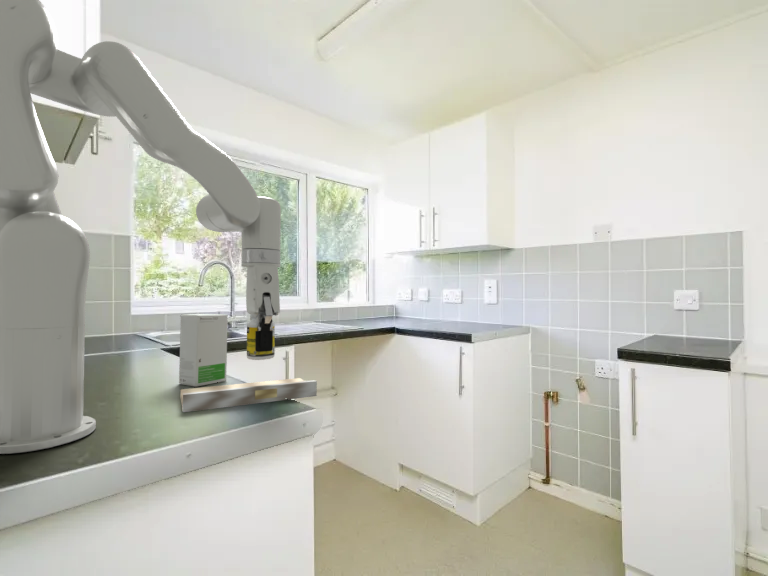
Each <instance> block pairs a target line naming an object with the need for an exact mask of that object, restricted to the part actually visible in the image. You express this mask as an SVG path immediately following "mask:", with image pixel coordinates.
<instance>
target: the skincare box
mask: <svg viewBox="0 0 768 576" xmlns="http://www.w3.org/2000/svg"><path fill="white" fill-rule="evenodd" d="M179 317H180V330H179V331H180V334H179V336H180V337H179V371H178V383H179V385H183V386H189V387H193V388H194V387H195V388H198V387H200V386H205V385H212V384H216V383H217V382H218V383H223V382H226V381H227V366H228V365H227V364H228V363H227V361H228V359H227V358H228V354H227V353H228V317H229V316H228V314H220V313H218V314H214V313H200V314H199V313H196V314H195V313H194V314H193V313H187V314H186V313H185V314H180V316H179ZM218 383H217V384H218Z"/></svg>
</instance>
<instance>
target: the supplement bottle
mask: <svg viewBox="0 0 768 576" xmlns="http://www.w3.org/2000/svg"><path fill="white" fill-rule="evenodd" d="M259 310H260V309H259ZM260 314H264V312H260V313H259V315H260ZM250 316H251V317H252V320H251V321H250V320H249V321H248V322H247V323H246V358H247V359H248V360H252V361H265V360H266V361H267V360H271V359H274V357H275V354H276V353H275V351H276V349H275V346H276V345H275V344H276V343H275V336H276V335H275V334H276V331H275V328H276V326H275V322H274V320H272V325H273V350H272V351H263V352H257V351H256V350H255V331H257V318H256V316H254V315H252V314H249V317H250Z"/></svg>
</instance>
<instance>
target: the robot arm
mask: <svg viewBox="0 0 768 576" xmlns="http://www.w3.org/2000/svg"><path fill="white" fill-rule="evenodd" d="M58 42H59V37H58V32H57V28H56V26H55V22H54V19H53V18H52V16H51V14H50V11H49V10H48V9H47V8H46V7H45V5H44V4H43V2H42V1H41V0H0V455H5V454H6V455H8V454H9V455H10V454H20V453H27V452H28V453H29V452H34V451H40V450H44V449H50V448H54V447H57V446H61V445H66V444H69V443H72V442H74V441H78V440H80V439H82V438H84V437H87V436H89V435H90V434H91V433H93V432H94V431H95V429H96V428H97V421H96V418H93V417H91V416H88V415H84V390H85V388H84V387H85V386H84V385H85V380H84V378H85V342H86V341H85V336H86V330H85V329H86V324H85V323H86V296H87V287H88V286H87V285H88V276H89V271H90V270H89V268H90V260H91V257H90V256H91V251H90V245H89V240H88V238H87V237H86V234H85V232H84V231H83V229H81V227H80V226H79V225H78V224H77V223H76V222H74V221H73V220H72V219H70V218H69V217H66V216H64V215H62V212H61V209H60V206H59V204H58V199H57V198H56V194H55V190H56V187H57V186H58V182H59V171H58V167H57V164H56V162H55V159H54V158H53V155H52V152H51V151H50V147H49V145H48V142H47V140H46V136H45V134H44V131H43V129H42V126H41V123H40V120H39V118H38V116H37V112H36V108H35V104H34V102H33V99H32V95H35V96H38V97H40V98H44V99H46V100H49V101H52V102H55V103H58V104H62V105H64V106H67V107H71V108H74V109H76V110H80V111H82V112H86V113H90V114H94V115H98V116H103V117H109V118H110V117H111V118H113V117H116V118H117V119H118V120H119V122H120V123H121V124H122V125H123V126H124V127H125V129H126V130H127V131H128V132H129V133H130V135H131V136H132V137H133V138H134V140H135V141H136V142H137V144H138V145H140V146H141V148H142V149H143V151H144V152H145V153H146V154H147V155H148V156H149V157H151V158H153V159H155V160H157V161H158V162H159V161H160V162H162V163H166V164H168V165H171V166H174V167H177V168H178V169H180V170H182V171H183V172H185V173H186V174H188V175H189V176H191V177H192V178H193V179H194V180H195V181H197V182H198V183H199V184H200V185H201V187H203V188H204V190H205V192H207V193H208V194H207V195H205V196H203V197H202V198H201V199H200V200H199V201H198V203H197V205H196V208H195V215H196V217H197V220H198V222H199V223H200V224H201V225H202V227H204V228H205V229H207V230H210V231H212V232H217V233H234V232H236V233H237V232H238V233H241V267H243V268H246V283H245V284H246V287H245V289H246V290H245V293H246V294H245V297H246V299H245V303H246V304H245V305H246V306H245V307H246V312H247V314H249V317H250V318H249V321H251V320H252V317H251V316H250V314H252V315H254V316H256V318H257V331H255V350H256V351H257V352H263V351H272V350H273V325H272V321H273V316H278V315H279V314H280V313H281V302H280V301H281V300H280V282H279V272H278V268H281V224H282V223H281V221H282V220H281V219H282V217H281V216H282V215H281V214H282V213H281V212H282V209H281V204H280V202H279V201H278V200H277V199H274V198H272V197H267V196H258V194H257V192H256V190H255V189H254V187H253V185H252V184H251V183H250V180H248V178H247V177H246V175H245V174H244V173H243V171H242V170H241V168H240V167H239V166H238V165H237V164H236V162H235V161H234V160H233V158H232V157H230V156H229V155H228V154H227V153H226V152H224V151H223V150H222V149H220V148H219V147H218V146H216V145H215V143H212V142H211V141H210V140H208V139H207V138H206V137H205V136H203V135H201V134H200V133H198V132H197V131H195V130H194V129H193V128H192V126H191V125H190V124H189V123H188V122H187V121H186V119H185V117H183V115H182V114H181V113H180V111H179V110H178V109H177V107H176V106H175V105H174V103H173V102H172V100H171V99H170V98H169V96H168V95H167V94H166V93H165V91H164V90H163V88H162V87H161V86H160V84H159V83H158V82H157V80H156V79H155V78H154V77H153V76H152V74H151V72H150V71H149V69H148V68H147V67H146V66H145V65H144V63H143V61H141V60H140V58H139V57H138V56H137V55H136V54H135V53H134V52H133V51H132V50H131V49H130V48H128V46H126V45H124V44H122V43H119V42H117V41H107V40H106V41H101V42H97V43H96V44H94V45H93V44H92V46H91V47H89V48H88V50H86V51H85V53H84V54H83V55H82V58H80V57H77V56H75V55H73V54H69V53H67V52H65V51H62V50H59V49H58V45H59V43H58ZM31 94H32V95H31ZM259 309H260V310H259ZM260 312H264V314H260V315H259V313H260Z"/></svg>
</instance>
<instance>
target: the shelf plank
mask: <svg viewBox="0 0 768 576" xmlns="http://www.w3.org/2000/svg"><path fill="white" fill-rule="evenodd" d="M317 382H318V381H317V380H316V379H315V380H313V379H312V380H304V379H302V378H301V377H296V378H287V379H277V380H276V379H275V380H265V381H254V382H245V383H234V384H233V383H232V384H224V385H214V386H204V387H195V388H194V387H192V388H184V389H183V388H182V389H180V391H179V392H180V403H181V410H182V413H188V412H196V411H205V410H213V409H222V408H229V407H230V408H231V407H237V406H246V405H253V404H261V403H263V404H264V403H271V402H279V401H287V399H288V400H296V399H304V398H312V397H317V396H318V395H317V391H318V390H317V387H318V386H317V385H318V383H317ZM285 398H287V399H285Z"/></svg>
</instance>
